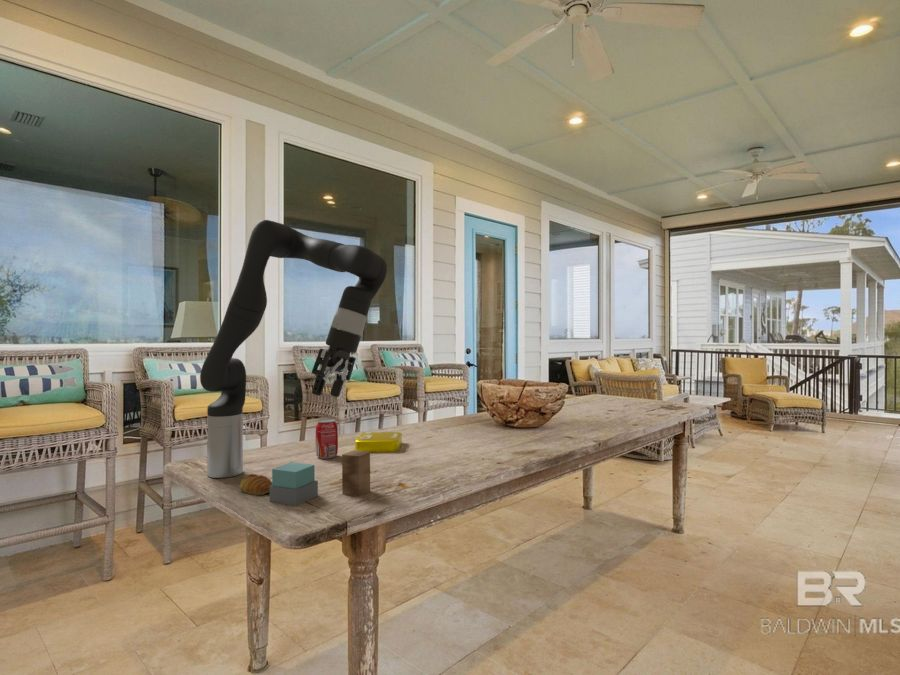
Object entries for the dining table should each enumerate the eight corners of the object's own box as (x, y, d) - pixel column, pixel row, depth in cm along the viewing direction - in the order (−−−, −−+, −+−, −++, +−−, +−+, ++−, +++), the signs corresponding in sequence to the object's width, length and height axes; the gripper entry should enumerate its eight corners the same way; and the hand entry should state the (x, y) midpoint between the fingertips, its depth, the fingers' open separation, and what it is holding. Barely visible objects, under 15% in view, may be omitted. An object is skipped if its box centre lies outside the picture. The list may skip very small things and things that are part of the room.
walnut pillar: (342, 494, 123) (342, 454, 123) (353, 488, 127) (353, 450, 127) (359, 496, 121) (359, 456, 121) (370, 490, 125) (370, 451, 125)
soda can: (324, 453, 165) (324, 418, 165) (342, 455, 162) (342, 419, 162) (311, 458, 158) (311, 421, 158) (329, 460, 156) (329, 422, 156)
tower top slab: (272, 485, 118) (272, 469, 118) (291, 477, 124) (291, 462, 124) (295, 489, 115) (295, 472, 115) (314, 480, 122) (314, 464, 122)
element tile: (398, 453, 166) (398, 439, 166) (354, 453, 166) (353, 439, 166) (402, 443, 181) (402, 430, 181) (362, 443, 181) (361, 430, 181)
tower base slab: (269, 502, 118) (269, 485, 118) (292, 492, 125) (292, 477, 125) (296, 506, 115) (296, 489, 115) (317, 496, 122) (317, 480, 122)
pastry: (280, 491, 125) (280, 477, 125) (256, 499, 120) (256, 483, 120) (260, 485, 131) (260, 470, 131) (236, 491, 126) (236, 477, 126)
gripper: (346, 331, 125) (327, 392, 123) (318, 320, 111) (295, 389, 110) (372, 338, 123) (352, 401, 121) (346, 328, 109) (323, 399, 108)
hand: (325, 395), depth 116 cm, fingers open, 8 cm apart
